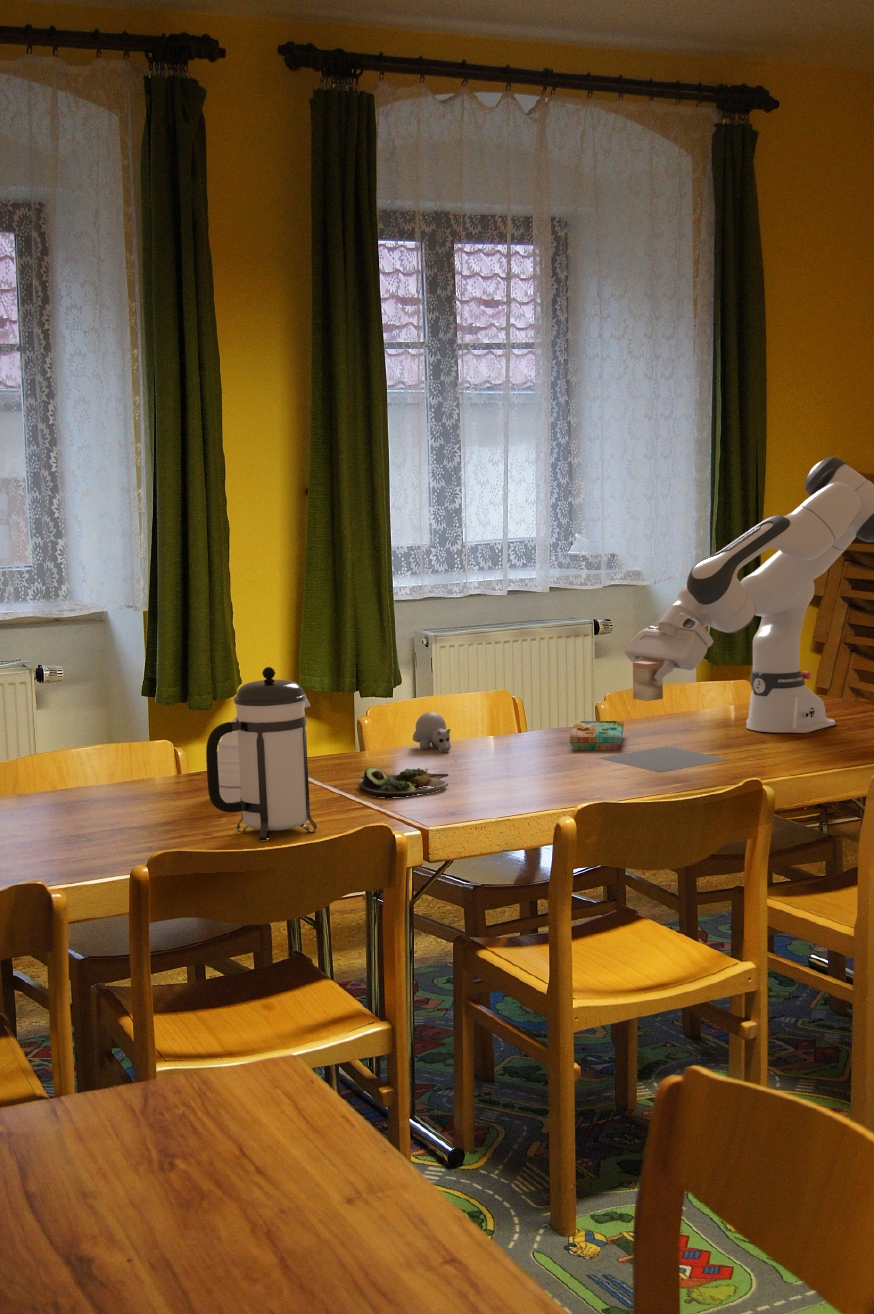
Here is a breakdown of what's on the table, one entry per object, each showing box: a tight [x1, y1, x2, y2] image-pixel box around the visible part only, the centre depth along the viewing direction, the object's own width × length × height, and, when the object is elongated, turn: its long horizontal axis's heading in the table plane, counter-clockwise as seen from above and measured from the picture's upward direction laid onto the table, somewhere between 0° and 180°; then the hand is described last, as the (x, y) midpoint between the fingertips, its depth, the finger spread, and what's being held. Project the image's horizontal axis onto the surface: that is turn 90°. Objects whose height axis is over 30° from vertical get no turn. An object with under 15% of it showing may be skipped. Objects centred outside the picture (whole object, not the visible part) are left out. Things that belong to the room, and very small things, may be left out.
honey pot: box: [217, 715, 241, 803], centre depth 261 cm, size 13×13×18 cm
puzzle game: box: [569, 720, 625, 752], centre depth 305 cm, size 12×5×20 cm
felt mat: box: [599, 745, 730, 773], centre depth 284 cm, size 20×20×1 cm
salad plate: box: [357, 766, 449, 799], centre depth 266 cm, size 19×18×5 cm
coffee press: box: [205, 666, 318, 841], centre depth 231 cm, size 17×16×30 cm
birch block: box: [632, 660, 664, 702], centre depth 279 cm, size 4×4×8 cm
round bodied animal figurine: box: [412, 711, 452, 753], centre depth 304 cm, size 7×12×8 cm, turn 30°
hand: (645, 678), depth 279 cm, fingers closed on birch block, 4 cm apart
